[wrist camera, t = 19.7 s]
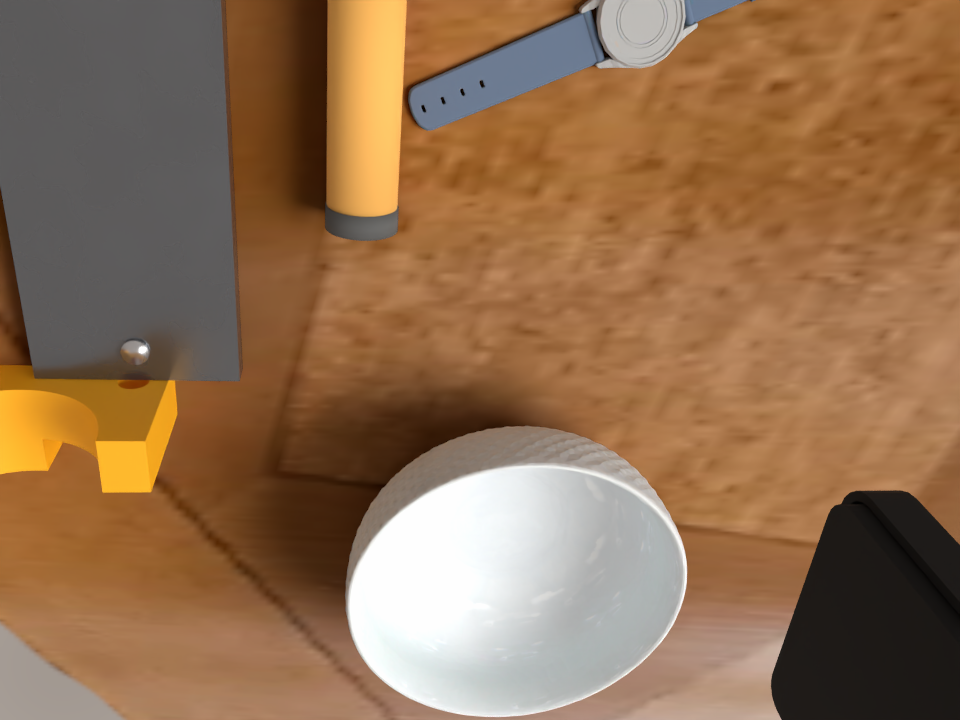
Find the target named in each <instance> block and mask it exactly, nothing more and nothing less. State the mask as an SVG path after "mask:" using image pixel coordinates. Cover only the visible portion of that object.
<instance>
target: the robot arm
mask: <svg viewBox="0 0 960 720" xmlns="http://www.w3.org/2000/svg"><path fill="white" fill-rule="evenodd" d="M771 689H772V697H773V701H774V704H775V707H776V709H777V711H778V713H779V715H780V717H781V719H782V720H960V545H959V544H958V543H957V542H956V541H955V540H954V538H953V537H952V536H951V535H950V534H949V533H948V532H947V531H946V530H945V529H944V528H943V527H942V526H941V525H940V523H939V522H938V521H937V520H936V519H935V518H934V517H933V516H932V515H931V514H930V513H929V512H928V511H927V510H926V508H925V507H924V506H923V505H922V504H921V503H920V502H919V501H918V500H917V499H916V498H915V497H914V496H912V495H911V494H910V493H908V492H904V491H855V492H851V493H849V494H848V495H847V496H846V497H845V498H844V500H843V502H842V504H840V505H835V506H834V507H833V508H832V509H831V511H830V513H829V515H828V517H827V520H826V523H825V526H824V528H823V531H822V534H821V537H820V540H819V543H818V546H817V548H816V551H815V554H814V557H813V560H812V563H811V566H810V568H809V571H808V574H807V577H806V580H805V583H804V585H803V588H802V591H801V594H800V597H799V600H798V603H797V605H796V608H795V611H794V614H793V617H792V620H791V623H790V625H789V628H788V631H787V634H786V637H785V640H784V643H783V645H782V648H781V651H780V654H779V657H778V660H777V662H776V665H775V668H774V671H773V674H772V679H771Z"/></svg>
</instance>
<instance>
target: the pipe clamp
mask: <svg viewBox="0 0 960 720" xmlns="http://www.w3.org/2000/svg"><path fill="white" fill-rule="evenodd" d="M176 417H177V403H176V392H175V380H107V379H35V378H34V373H33V367H32V366H29V365H0V474H4V473H10V472H17V471H30V470H45V471H48V469H49V467H50V465H51V464H52V462H53V460H54V458H55V456H56V454H57V452H58V450H59V449H60V447H61V445H62V442H65V443H69V444H72V445H75V446H78V447H80V448H82V449H84V450H86V451H88V452H89V453H91V454H92V455H93V456H95V457H96V458H97V459H98V462H99V469H100V476H101V483H102V490H103V492H151V490H152V487H153V484H154V482H155V479H156V476H157V473H158V470H159V467H160V464H161V461H162V458H163V455H164V452H165V449H166V446H167V443H168V440H169V437H170V434H171V432H172V429H173V426H174V423H175V420H176Z"/></svg>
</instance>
